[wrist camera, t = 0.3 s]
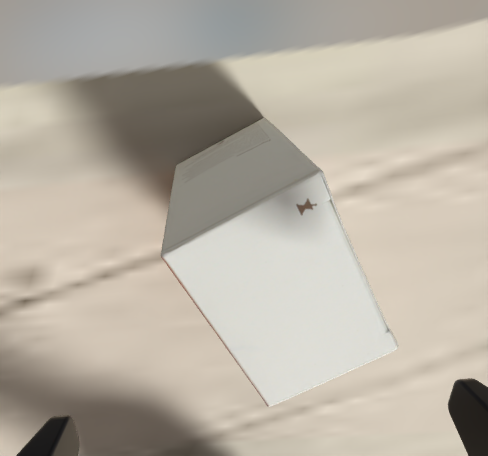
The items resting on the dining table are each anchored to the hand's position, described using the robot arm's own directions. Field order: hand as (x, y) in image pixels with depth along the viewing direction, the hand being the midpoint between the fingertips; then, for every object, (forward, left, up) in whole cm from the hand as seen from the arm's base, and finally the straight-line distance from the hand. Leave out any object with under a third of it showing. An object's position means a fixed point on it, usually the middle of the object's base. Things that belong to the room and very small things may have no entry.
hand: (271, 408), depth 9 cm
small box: (0, -1, -15) cm, 15 cm away
